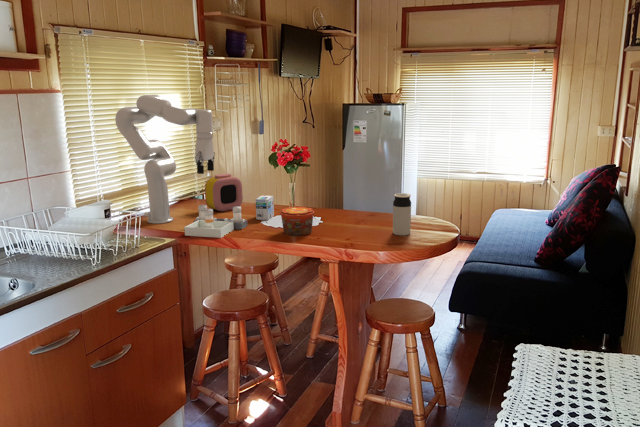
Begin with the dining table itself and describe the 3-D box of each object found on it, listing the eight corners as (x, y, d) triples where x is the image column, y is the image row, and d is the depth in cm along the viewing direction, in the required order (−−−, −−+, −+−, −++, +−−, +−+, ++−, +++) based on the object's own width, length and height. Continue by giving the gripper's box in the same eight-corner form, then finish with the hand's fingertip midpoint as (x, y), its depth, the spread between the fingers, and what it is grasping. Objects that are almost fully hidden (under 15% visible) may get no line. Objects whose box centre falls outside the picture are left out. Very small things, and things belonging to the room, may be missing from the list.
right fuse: (232, 228, 260) (231, 207, 258) (235, 226, 264) (234, 206, 261) (240, 228, 259) (239, 208, 257) (243, 226, 263) (242, 206, 260)
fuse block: (193, 226, 263) (193, 218, 262) (200, 223, 270) (199, 215, 269) (241, 229, 257) (241, 221, 256) (247, 225, 264) (247, 217, 263)
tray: (184, 235, 248) (184, 227, 247) (199, 228, 261) (198, 219, 260) (221, 237, 243) (220, 229, 242) (233, 229, 257) (233, 221, 256)
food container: (277, 236, 244) (276, 213, 242) (284, 227, 260) (283, 205, 257) (312, 237, 242) (311, 214, 240) (317, 228, 257) (316, 206, 255)
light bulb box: (268, 220, 275) (267, 199, 272) (255, 219, 276) (255, 199, 274) (274, 215, 285) (273, 195, 283) (262, 215, 286) (261, 195, 284)
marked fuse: (203, 231, 251) (202, 210, 248) (207, 229, 254) (206, 208, 252) (211, 231, 250) (210, 210, 247) (215, 229, 253) (214, 208, 251)
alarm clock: (215, 213, 291) (213, 177, 286) (204, 210, 299) (202, 175, 294) (244, 208, 303) (242, 174, 299) (233, 205, 311) (231, 171, 306)
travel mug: (397, 236, 242) (397, 197, 238) (389, 232, 249) (390, 193, 245) (413, 235, 244) (414, 195, 240) (405, 230, 252) (406, 192, 248)
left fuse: (198, 226, 264) (196, 206, 262) (201, 224, 268) (200, 204, 266) (205, 226, 263) (204, 206, 261) (209, 224, 267) (208, 204, 265)
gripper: (206, 134, 264) (207, 168, 268) (188, 137, 248) (189, 174, 252) (220, 134, 262) (221, 169, 266) (202, 138, 246) (203, 175, 250)
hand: (205, 172), depth 259 cm, fingers open, 9 cm apart
